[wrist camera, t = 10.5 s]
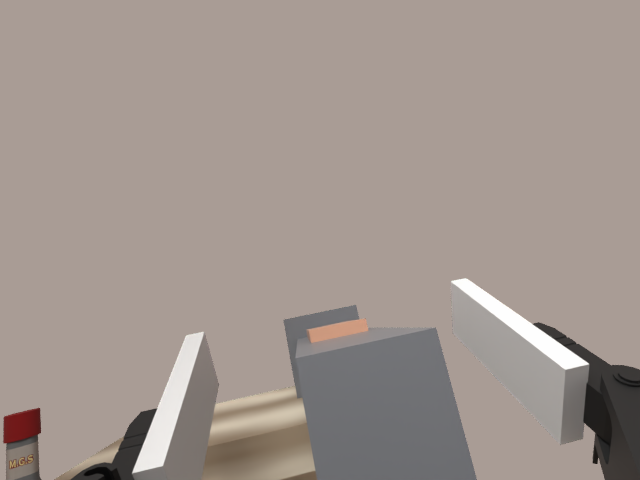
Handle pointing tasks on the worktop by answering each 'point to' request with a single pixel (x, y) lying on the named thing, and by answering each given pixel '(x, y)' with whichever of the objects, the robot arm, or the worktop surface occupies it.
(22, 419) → the liquor
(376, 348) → the grey stepped block
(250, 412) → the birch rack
